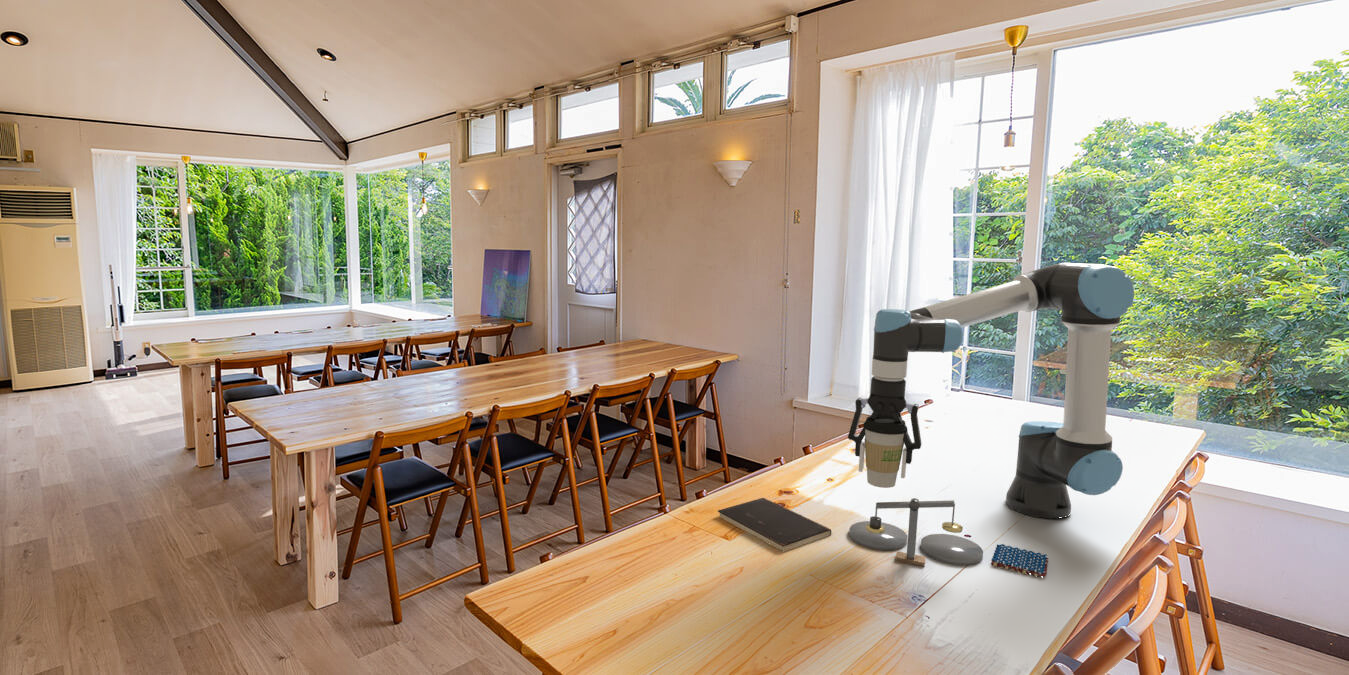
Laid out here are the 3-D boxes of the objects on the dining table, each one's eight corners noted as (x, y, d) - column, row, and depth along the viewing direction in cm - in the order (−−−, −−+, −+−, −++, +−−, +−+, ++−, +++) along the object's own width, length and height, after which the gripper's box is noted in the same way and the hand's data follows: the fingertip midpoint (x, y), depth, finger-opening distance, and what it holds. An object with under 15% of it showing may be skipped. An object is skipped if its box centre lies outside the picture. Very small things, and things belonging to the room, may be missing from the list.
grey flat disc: (982, 545, 155) (982, 540, 155) (982, 570, 143) (983, 565, 143) (922, 534, 160) (923, 529, 160) (918, 557, 148) (918, 552, 148)
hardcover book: (782, 555, 150) (783, 545, 149) (717, 519, 168) (717, 510, 168) (831, 537, 159) (831, 528, 159) (764, 505, 178) (764, 496, 177)
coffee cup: (906, 492, 150) (911, 427, 148) (860, 488, 152) (865, 424, 150) (900, 477, 160) (905, 416, 158) (857, 473, 162) (861, 413, 160)
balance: (959, 566, 145) (964, 499, 142) (958, 575, 141) (964, 506, 139) (865, 548, 152) (869, 484, 150) (862, 555, 149) (867, 490, 147)
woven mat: (1045, 582, 140) (1046, 573, 139) (989, 568, 145) (990, 559, 145) (1049, 562, 149) (1050, 553, 148) (996, 549, 154) (997, 541, 154)
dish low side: (909, 532, 161) (909, 527, 161) (904, 554, 150) (904, 549, 149) (854, 521, 167) (854, 517, 166) (845, 543, 155) (845, 538, 155)
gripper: (940, 379, 151) (932, 475, 155) (843, 370, 160) (838, 461, 163) (938, 385, 145) (930, 486, 148) (837, 375, 153) (832, 470, 157)
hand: (881, 473), depth 156 cm, fingers closed on coffee cup, 9 cm apart
